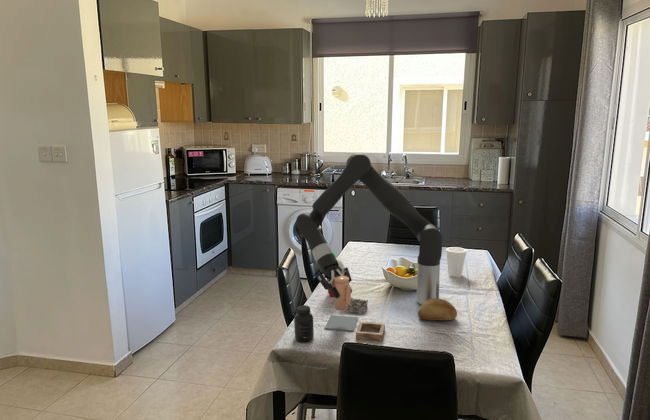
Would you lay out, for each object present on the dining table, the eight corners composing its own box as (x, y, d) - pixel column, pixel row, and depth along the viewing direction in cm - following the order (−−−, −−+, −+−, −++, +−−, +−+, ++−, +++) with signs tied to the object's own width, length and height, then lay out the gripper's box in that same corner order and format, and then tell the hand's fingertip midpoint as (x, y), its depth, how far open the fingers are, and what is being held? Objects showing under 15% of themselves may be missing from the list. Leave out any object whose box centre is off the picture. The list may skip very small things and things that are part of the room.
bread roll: (459, 325, 181) (460, 305, 180) (419, 323, 183) (419, 304, 181) (454, 314, 191) (455, 295, 189) (416, 313, 192) (417, 294, 190)
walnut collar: (384, 329, 178) (384, 323, 177) (382, 341, 169) (382, 334, 168) (359, 327, 180) (359, 321, 179) (356, 339, 171) (356, 332, 170)
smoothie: (343, 299, 207) (342, 255, 203) (324, 298, 209) (323, 254, 205) (346, 292, 215) (346, 249, 211) (328, 291, 217) (327, 249, 213)
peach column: (330, 307, 183) (330, 277, 180) (342, 303, 186) (342, 274, 184) (343, 314, 177) (343, 283, 175) (355, 310, 180) (355, 279, 178)
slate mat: (358, 318, 188) (358, 317, 188) (353, 331, 177) (353, 330, 176) (331, 316, 190) (331, 314, 190) (324, 329, 179) (324, 328, 179)
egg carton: (338, 310, 197) (338, 301, 196) (346, 304, 203) (346, 294, 202) (362, 314, 192) (362, 305, 191) (369, 307, 199) (369, 298, 198)
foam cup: (443, 276, 234) (444, 251, 231) (446, 271, 242) (447, 246, 239) (463, 279, 230) (465, 253, 228) (465, 273, 239) (467, 248, 236)
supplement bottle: (294, 335, 175) (293, 304, 172) (313, 334, 175) (312, 303, 173) (294, 344, 168) (294, 312, 166) (314, 343, 168) (313, 311, 166)
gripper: (314, 256, 180) (333, 295, 173) (343, 249, 188) (363, 286, 181) (306, 266, 185) (325, 304, 178) (334, 259, 194) (354, 295, 187)
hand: (344, 295), depth 180 cm, fingers closed on peach column, 5 cm apart
